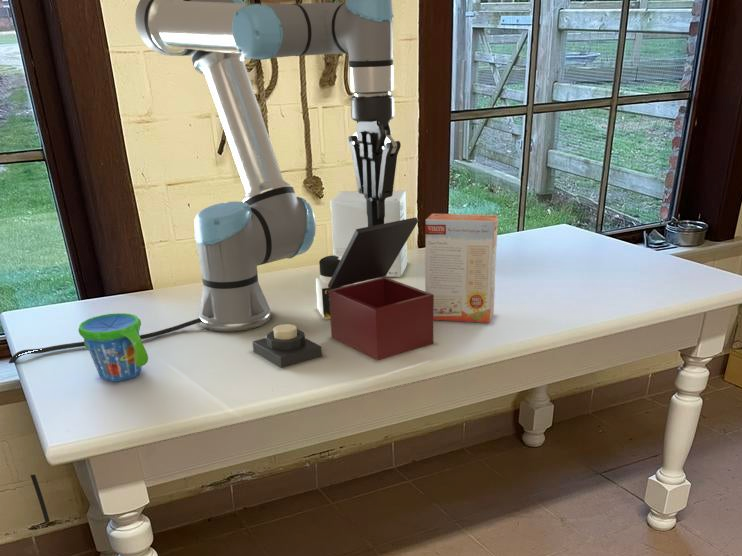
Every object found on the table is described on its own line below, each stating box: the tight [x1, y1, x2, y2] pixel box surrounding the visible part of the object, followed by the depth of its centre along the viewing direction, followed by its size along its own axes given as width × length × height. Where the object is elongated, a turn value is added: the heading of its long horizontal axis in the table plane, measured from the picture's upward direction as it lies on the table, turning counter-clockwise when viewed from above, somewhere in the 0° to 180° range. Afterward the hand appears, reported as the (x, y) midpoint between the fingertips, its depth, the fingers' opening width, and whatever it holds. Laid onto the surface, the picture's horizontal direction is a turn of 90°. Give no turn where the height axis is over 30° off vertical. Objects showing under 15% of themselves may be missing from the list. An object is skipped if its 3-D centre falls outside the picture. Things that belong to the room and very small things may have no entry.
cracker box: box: [424, 213, 499, 324], centre depth 163 cm, size 14×6×21 cm, turn 74°
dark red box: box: [329, 276, 435, 361], centre depth 156 cm, size 16×14×10 cm
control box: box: [251, 328, 323, 369], centre depth 152 cm, size 11×9×4 cm
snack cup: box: [78, 312, 149, 383], centre depth 144 cm, size 16×10×10 cm
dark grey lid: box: [328, 216, 419, 289], centre depth 151 cm, size 17×14×1 cm
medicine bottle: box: [315, 255, 353, 320], centre depth 170 cm, size 7×7×12 cm
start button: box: [272, 323, 298, 340], centre depth 151 cm, size 4×4×2 cm
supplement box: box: [329, 189, 408, 278], centre depth 196 cm, size 17×13×18 cm
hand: (376, 235), depth 148 cm, fingers closed
